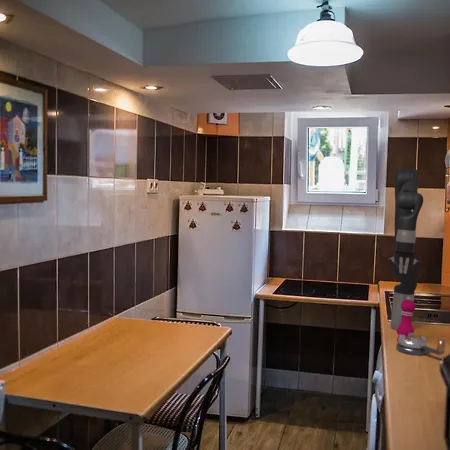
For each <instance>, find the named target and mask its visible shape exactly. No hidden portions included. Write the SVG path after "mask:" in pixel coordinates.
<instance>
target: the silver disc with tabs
mask: <svg viewBox="0 0 450 450" xmlns="http://www.w3.org/2000/svg"><path fill="white" fill-rule="evenodd" d="M395 348H396V349H395V350H396V351H398V352H399V353H403V354H405V355H409V356H410V355H411V356H418V357H422V356H426V355H427V354H428V351H426V350H414V349H408V348H404V347H402V346H400V345H398V342H396V346H395Z"/></svg>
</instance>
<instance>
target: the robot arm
mask: <svg viewBox="0 0 450 450" xmlns="http://www.w3.org/2000/svg"><path fill="white" fill-rule="evenodd" d="M393 184H394V186H393V188H394V246H393V247H394V248H393V256H391V257H390V258H388V259H387V260H388V263H389V264H390V265H391V267H392V272H393V274H394V275H395V276H396V277H398V278H397V279H398V281H399V283H398V284H395V285H394V287H393V296H392V297H393V298H392V308H391V319H390V328H391V329H394V330H396V331H397V328H398V326H399V325H400V323H401V320H402V314H401V313H402V312H401V311H402V308H401V303H402V302H403V301H404V300H407V297H411V301H413V302H414V301H415V300H414V299H415V298H414V297H415V292H416V289H417V287H418V280H419V273H420V268H419V267H420V266H419V265H420V264H421V263H420V261H419V260H417V259H416V256H415V249H416V247H415V246H416V239H417V237H416V236H417V233H416V231H417V222H418V218H419V213H420V211H421V209H422V207H423V204H424V196H423V195H422V194H421V193H419V192H418V189H419V187H420V172H419V170H418V169H416V168H396V169H395V171H394V174H393ZM414 303H415V302H414Z"/></svg>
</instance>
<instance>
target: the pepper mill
mask: <svg viewBox="0 0 450 450" xmlns="http://www.w3.org/2000/svg"><path fill="white" fill-rule="evenodd" d="M401 308H402V311H401V312H402V313H401V314H402V320H401V323H400V325H399V326H398V328H397V330H396V334H397V336H396V341H397V342H396V343H398V338H399V334H404V335H405V336H408V333H414V334H415V329H414V326H413V323H412V320H413V317H414V311H415V310H416V304H415V302H413V301H411V297H407V300H404V301H403V302H402V303H401Z"/></svg>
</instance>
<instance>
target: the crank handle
mask: <svg viewBox="0 0 450 450" xmlns="http://www.w3.org/2000/svg"><path fill="white" fill-rule="evenodd" d="M398 337H399V338H398V342H397V343H398V345H400V346H402V347H404V348H408V349H414V350H426V351H427V352H429V353H432V354H434V355H438V356H440V355H444V354H445V349H446V348H445V347H446V340H445V339H437V347H436V348H437V349H435V348H433V347H430V346H427V345H428V341H427V340H428V338H427V337H426V336H422V335H421V336H420V337H418V336H417V337H416V336H415V332H414V333H408V336H405V335H404V334H399V336H398Z"/></svg>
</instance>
